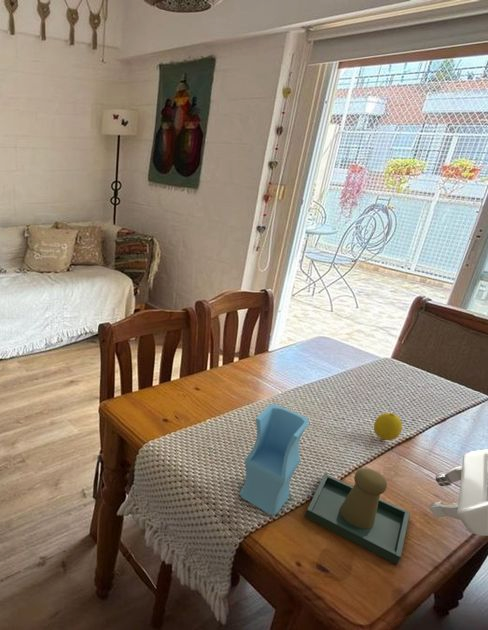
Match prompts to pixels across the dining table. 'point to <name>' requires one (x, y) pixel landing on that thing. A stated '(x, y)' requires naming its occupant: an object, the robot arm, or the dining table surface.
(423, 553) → the dining table surface
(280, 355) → the dining table surface
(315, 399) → the dining table surface
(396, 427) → the lemon
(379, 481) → the pepper mill
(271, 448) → the blue toy chair
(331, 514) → the spice tray
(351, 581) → the dining table surface
